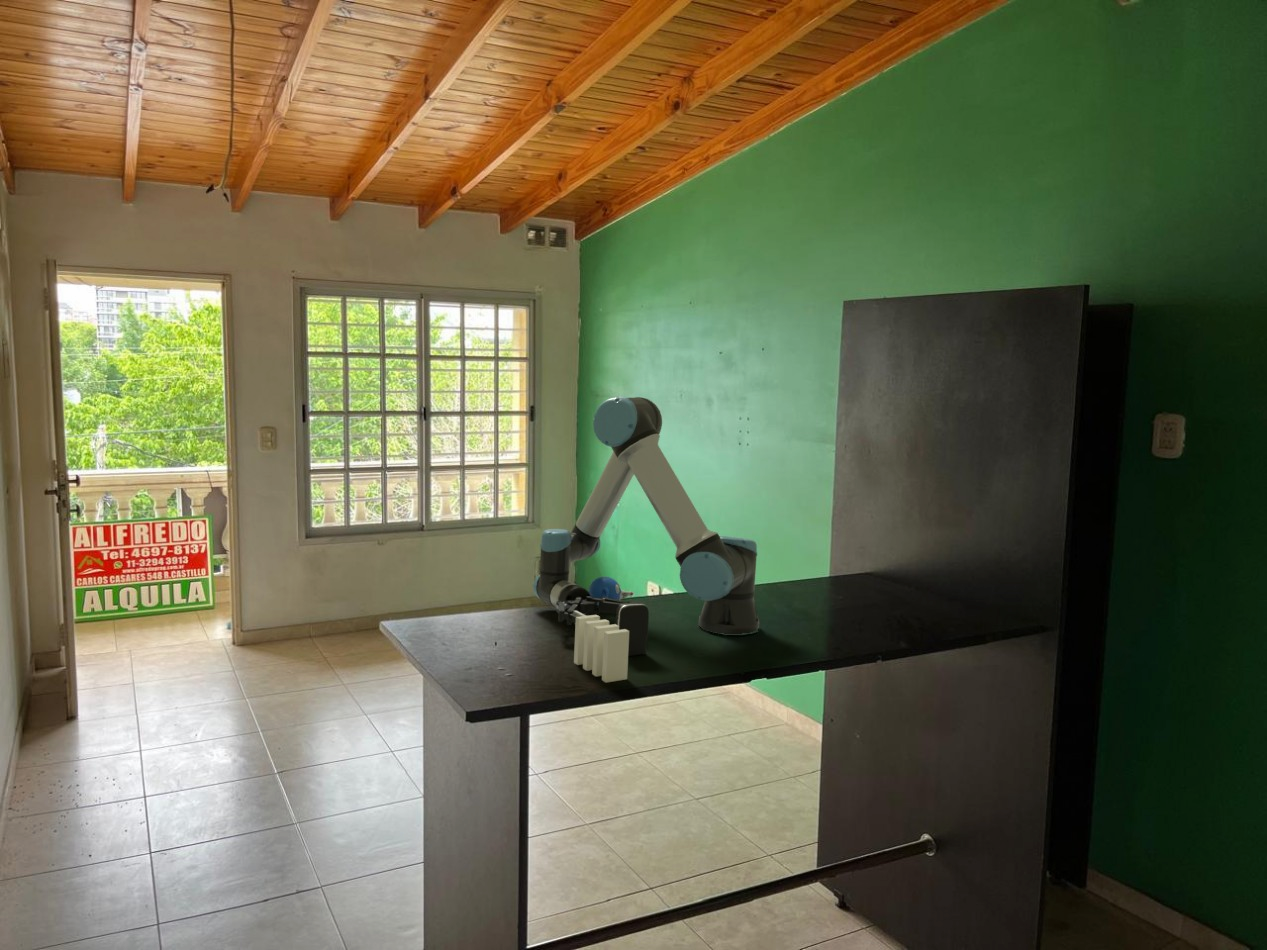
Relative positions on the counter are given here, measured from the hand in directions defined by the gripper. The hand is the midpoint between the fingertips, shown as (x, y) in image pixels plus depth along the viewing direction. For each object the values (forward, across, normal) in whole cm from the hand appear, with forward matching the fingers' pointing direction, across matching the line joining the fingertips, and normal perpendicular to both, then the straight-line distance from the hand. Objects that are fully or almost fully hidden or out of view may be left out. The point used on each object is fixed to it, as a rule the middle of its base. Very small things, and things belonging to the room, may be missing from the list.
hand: (614, 620), depth 200 cm
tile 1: (+8, +12, -6) cm, 15 cm away
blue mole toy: (-30, -16, -6) cm, 34 cm away
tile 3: (+16, +12, -6) cm, 21 cm away
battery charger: (+7, 0, -6) cm, 9 cm away
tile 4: (+20, +11, -6) cm, 24 cm away
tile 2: (+12, +12, -6) cm, 18 cm away
